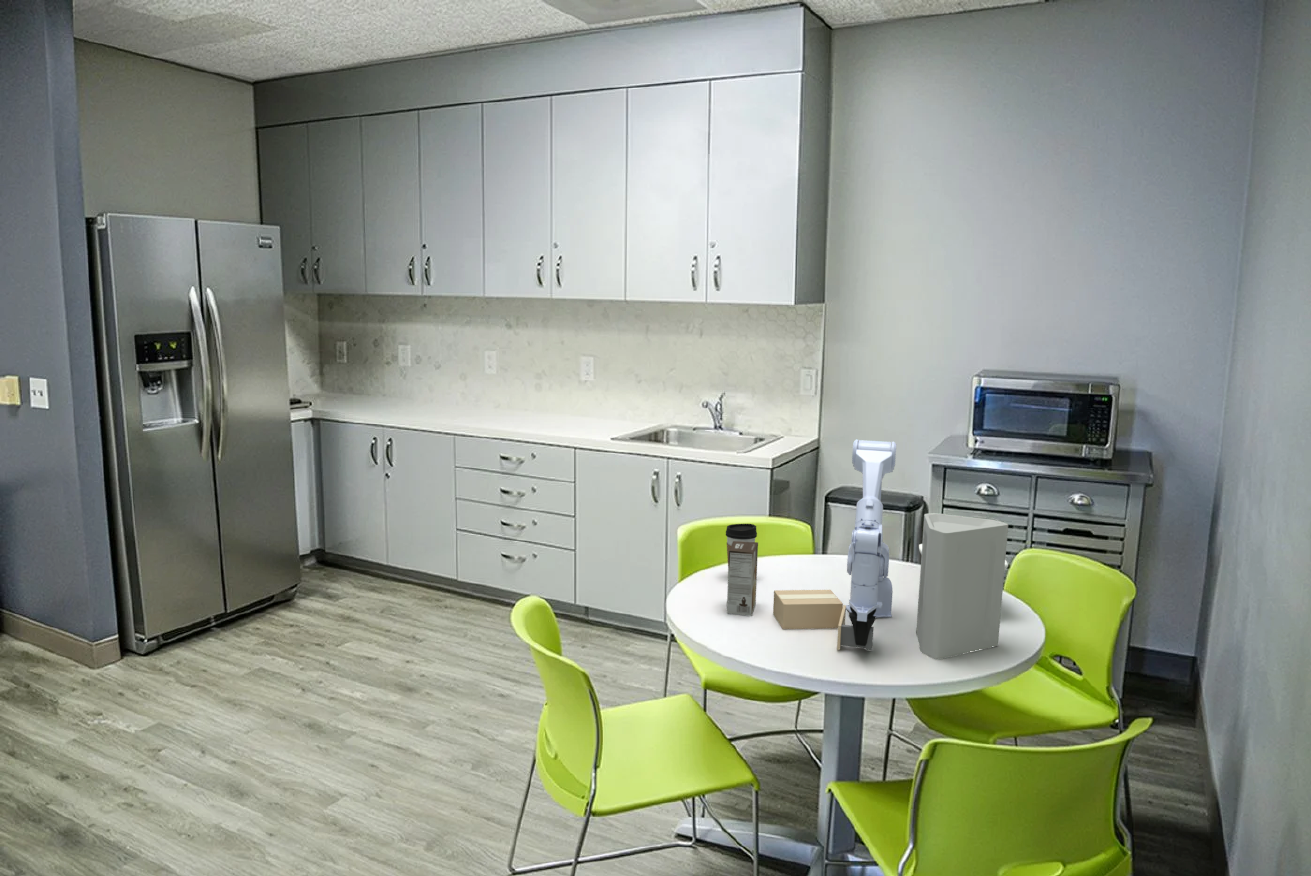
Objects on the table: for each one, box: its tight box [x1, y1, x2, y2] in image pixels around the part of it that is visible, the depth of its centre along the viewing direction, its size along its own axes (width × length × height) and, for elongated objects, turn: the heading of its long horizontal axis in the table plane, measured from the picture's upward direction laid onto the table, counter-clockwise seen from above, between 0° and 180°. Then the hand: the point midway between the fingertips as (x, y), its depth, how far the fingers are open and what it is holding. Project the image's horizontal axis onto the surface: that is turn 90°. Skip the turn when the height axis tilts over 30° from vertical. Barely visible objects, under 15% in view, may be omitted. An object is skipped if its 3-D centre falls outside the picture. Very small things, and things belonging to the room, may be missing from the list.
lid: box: [836, 604, 875, 652], centre depth 208 cm, size 14×7×6 cm, turn 164°
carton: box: [772, 589, 844, 630], centre depth 220 cm, size 14×10×6 cm
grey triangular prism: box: [915, 512, 1009, 660], centre depth 207 cm, size 19×15×28 cm
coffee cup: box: [725, 523, 758, 562], centre depth 250 cm, size 8×8×15 cm
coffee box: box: [726, 541, 759, 617], centre depth 227 cm, size 9×6×16 cm
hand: (860, 641), depth 203 cm, fingers open, 3 cm apart
